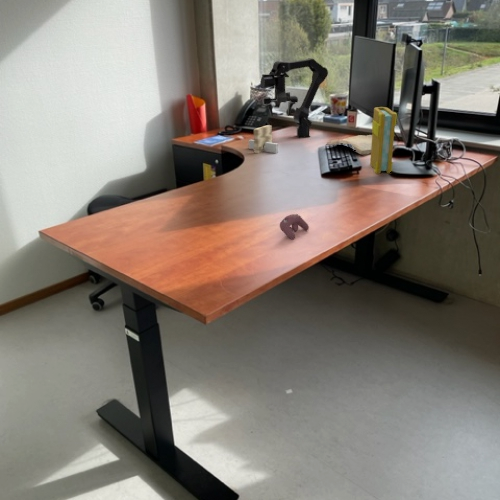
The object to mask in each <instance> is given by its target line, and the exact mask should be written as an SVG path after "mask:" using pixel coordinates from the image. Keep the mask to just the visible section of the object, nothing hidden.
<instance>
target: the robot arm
mask: <svg viewBox="0 0 500 500" xmlns="http://www.w3.org/2000/svg"><path fill="white" fill-rule="evenodd" d="M302 68H303V69H304V68H309V70H310V71H311V72H312V75H311V83H310V85H309V87H308V89H307V91H306V94H305V97H304V99H303V100H302V103H301V104H300V106H299V107H296V108H295V110H294V112H293V115H292V116H293V121H294V122H295V123H296V125H297V127H296V136H297V137H298V138H301V139H302V138H310V137H311V135H310V127H311V126H312V123H313V122H312V121H311V120H310V119H309V116H310V108H311V105H312V104H313V102H314V99H315V98H316V97H315V96H316V95H317V92H318V89H319V88H320V86H321V84H322V83H323V82H325V80H326V79H327V77H328V75H329V70H328V69H327V67H324V66H322V64H320V63H319V62H318V61H316V59H314V58H312V57H311V58H305V59H300V60H299V59H298V60H293V61H282V60H281V61H278V60H277V61H275V62H274V63H273V65H272V68H271V70H270V71H269V73H268V74H265V73H264V74H262V75H261V79H260V81H259V82H260V83H259V84H260V87H261V88H262V89H266V88H268V89H269V88H273V87H274V98H271V96H267V97H264V96H263V98H262V104H263V105H265V106H267V108H268V111H269V113H270V115H271V117H273V106H272V105H273V104H272V103H279V104H281V103H284V104H285V103H287V102H288V104H287V106H288V107H287V116H290V113H291V110H292V109H293V106H294V105H296V103H298V102H299V97H298V96H297V95H291V92H289V91H288V92H286V78H289V77H290V75H289V74H287V72H290V71H291V70H298V69H302Z"/></svg>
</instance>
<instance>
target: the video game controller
mask: <svg viewBox="0 0 500 500" xmlns="http://www.w3.org/2000/svg"><path fill="white" fill-rule="evenodd" d="M299 227H300V228H301V229H302V230H304V231H309V229H310V226H309V224H308V223H307V222H306V220H304V219H303V217H302V216H301V215H299V214H297V213H296V214H295V213H293V214H289V215H287V216H285V217H284V218H283V219H282V220H281V221H280V223H279V228H280V231H282V232H283V233H284V235H285V236H286V237H287V238H289V240H290V239H291V240H295V239H296V238H295V237H296V236H295V235H296V234H295V232H298V231H299Z"/></svg>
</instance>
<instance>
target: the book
mask: <svg viewBox="0 0 500 500" xmlns="http://www.w3.org/2000/svg"><path fill="white" fill-rule="evenodd" d="M372 118H373V119H372V125H371V127H372V128H371V133H372V134H371V135H372V145H371V153H370V158H369V159H370V160H369V161H370V163H369V164H370V166H371V168H373V172H374V173H375V174H381V172H385V173H387V174H391V173H390V172H391V171H393V163H394V162H393V149H394V140H395V139H394V137H395V130H396V129H395V128H396V126H397V118H398V114H397V113H396V111H392V110H391V109H390V108H389V107H385V106H379V107H378V106H377V107H374V108H373V117H372Z"/></svg>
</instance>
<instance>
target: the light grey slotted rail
mask: <svg viewBox="0 0 500 500" xmlns="http://www.w3.org/2000/svg"><path fill="white" fill-rule="evenodd" d="M248 149H250V150H254V139H249V140H248ZM263 152H268V153H272V154H273V153H274V154H278V153H279V143H277V142H272V143H271V142H266V143H265V145H264V146H263Z"/></svg>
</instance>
